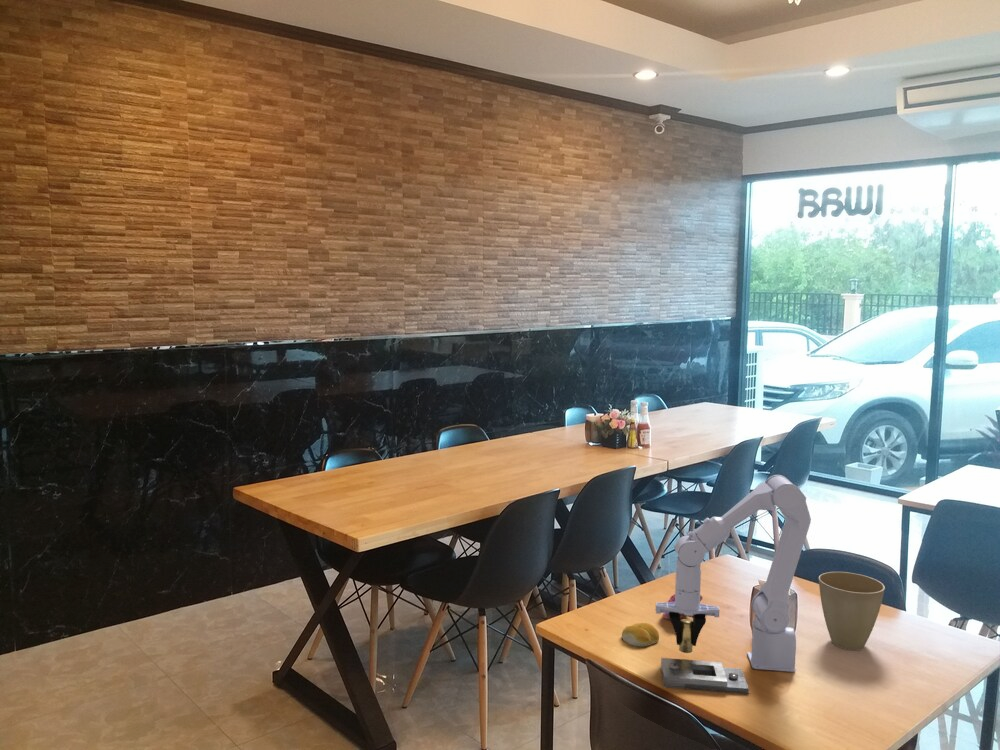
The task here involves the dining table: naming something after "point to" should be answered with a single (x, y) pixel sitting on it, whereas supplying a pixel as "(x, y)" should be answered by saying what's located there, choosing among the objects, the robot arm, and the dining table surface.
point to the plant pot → (850, 607)
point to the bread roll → (640, 634)
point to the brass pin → (686, 636)
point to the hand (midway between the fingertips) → (686, 643)
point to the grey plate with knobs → (702, 676)
